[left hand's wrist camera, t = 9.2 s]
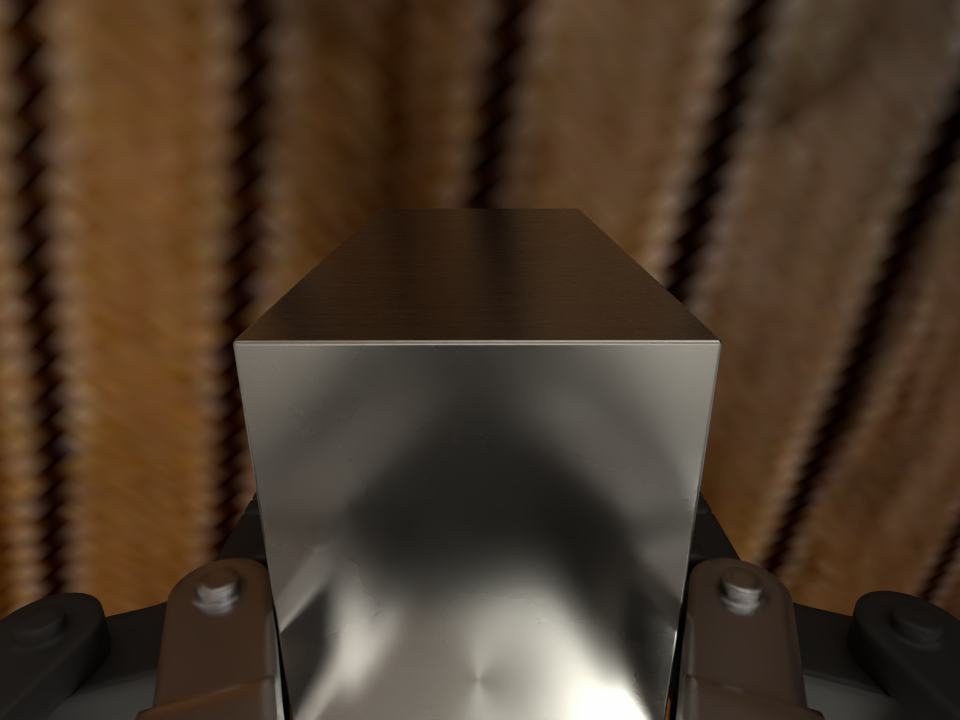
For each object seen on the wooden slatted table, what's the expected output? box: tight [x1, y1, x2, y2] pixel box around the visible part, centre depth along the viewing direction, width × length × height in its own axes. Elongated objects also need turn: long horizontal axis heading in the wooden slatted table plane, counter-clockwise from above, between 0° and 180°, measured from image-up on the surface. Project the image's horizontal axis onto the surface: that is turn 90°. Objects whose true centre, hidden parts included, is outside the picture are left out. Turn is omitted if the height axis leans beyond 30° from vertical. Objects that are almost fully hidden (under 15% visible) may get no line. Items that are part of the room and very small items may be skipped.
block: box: [233, 209, 722, 720], centre depth 12 cm, size 5×9×10 cm, turn 0°
